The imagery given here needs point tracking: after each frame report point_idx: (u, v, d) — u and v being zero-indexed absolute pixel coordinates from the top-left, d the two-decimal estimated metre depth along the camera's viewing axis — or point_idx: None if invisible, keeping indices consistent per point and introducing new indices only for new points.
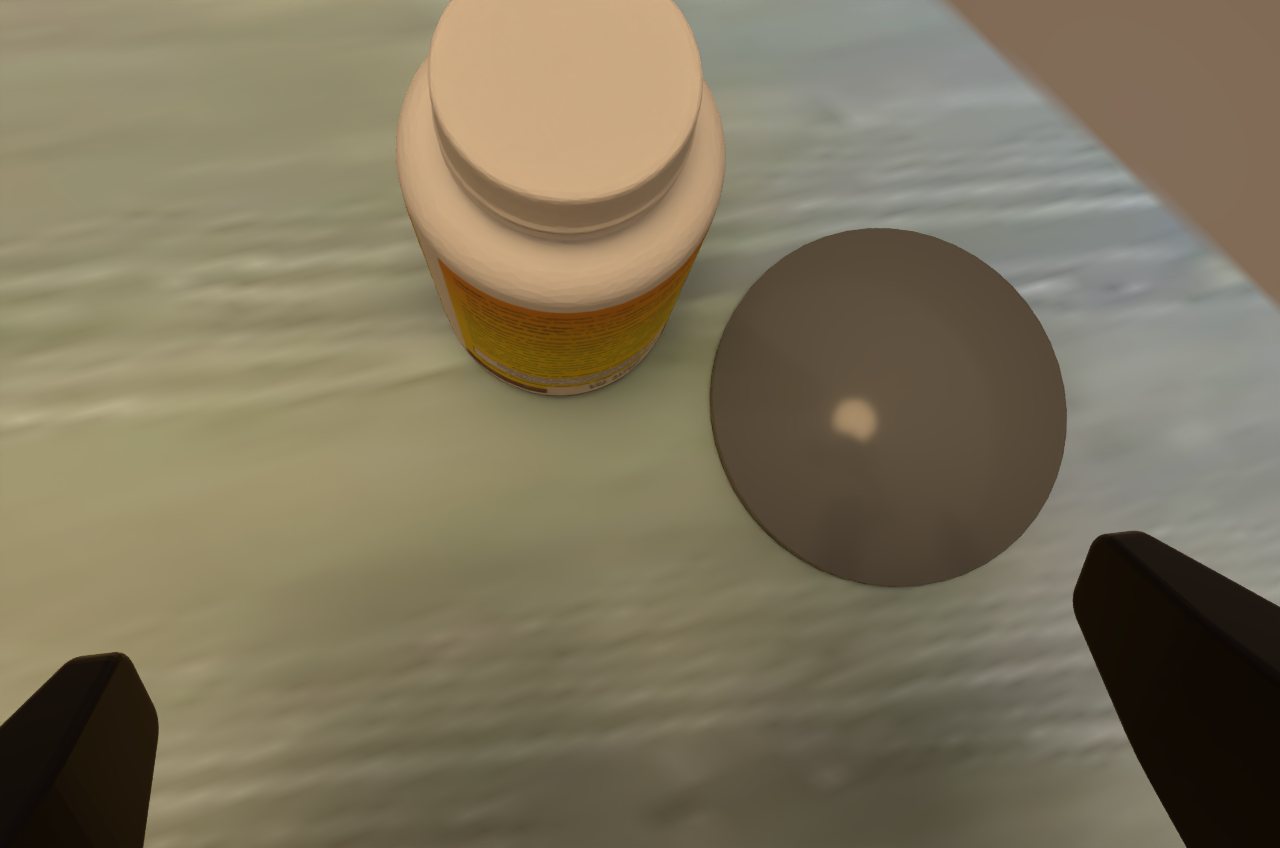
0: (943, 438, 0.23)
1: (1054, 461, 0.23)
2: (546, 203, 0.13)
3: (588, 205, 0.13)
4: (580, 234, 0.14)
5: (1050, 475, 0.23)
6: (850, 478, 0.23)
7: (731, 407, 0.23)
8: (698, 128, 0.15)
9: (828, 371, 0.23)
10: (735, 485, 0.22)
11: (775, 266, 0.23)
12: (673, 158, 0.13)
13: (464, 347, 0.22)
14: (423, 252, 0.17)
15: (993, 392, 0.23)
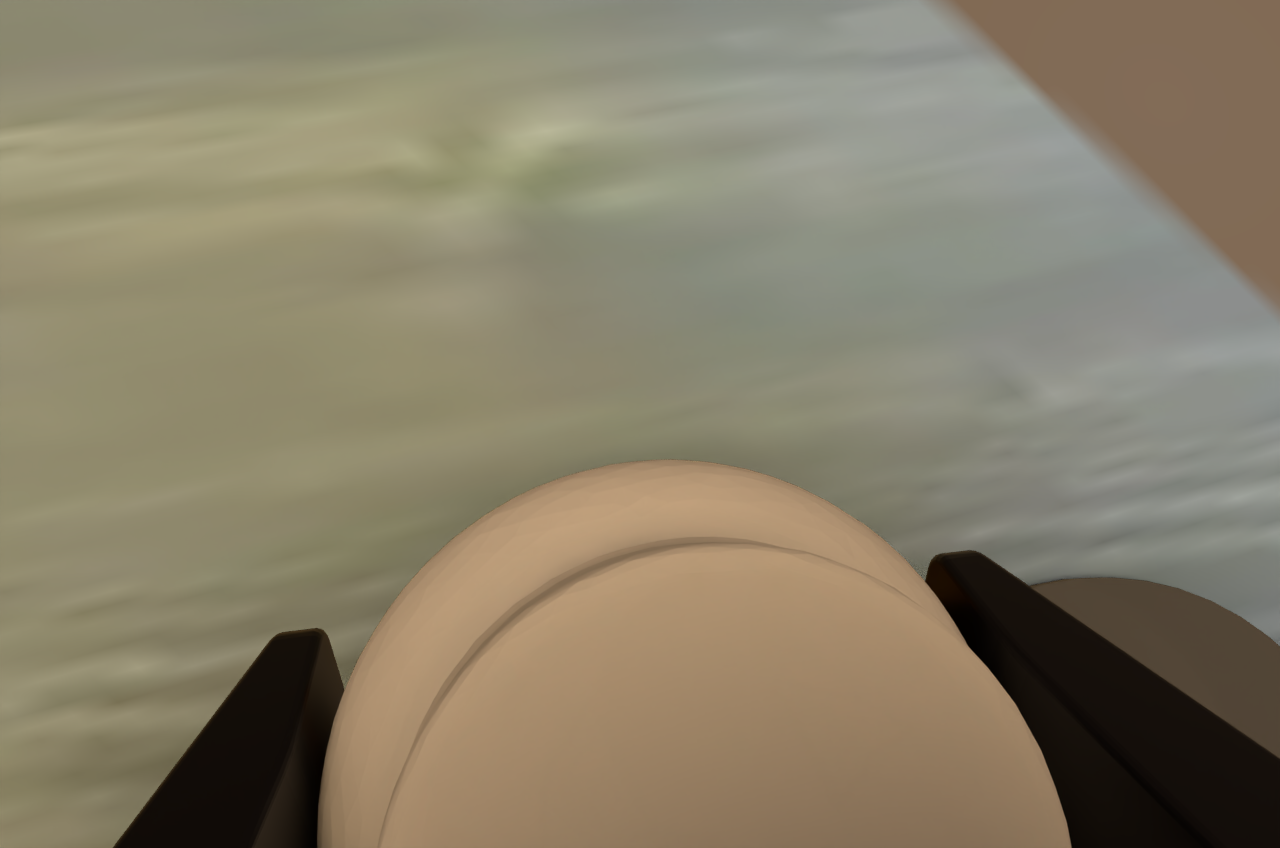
0: None
1: None
2: None
3: None
4: None
5: None
6: None
7: None
8: None
9: None
10: None
11: None
12: None
13: None
14: None
15: None
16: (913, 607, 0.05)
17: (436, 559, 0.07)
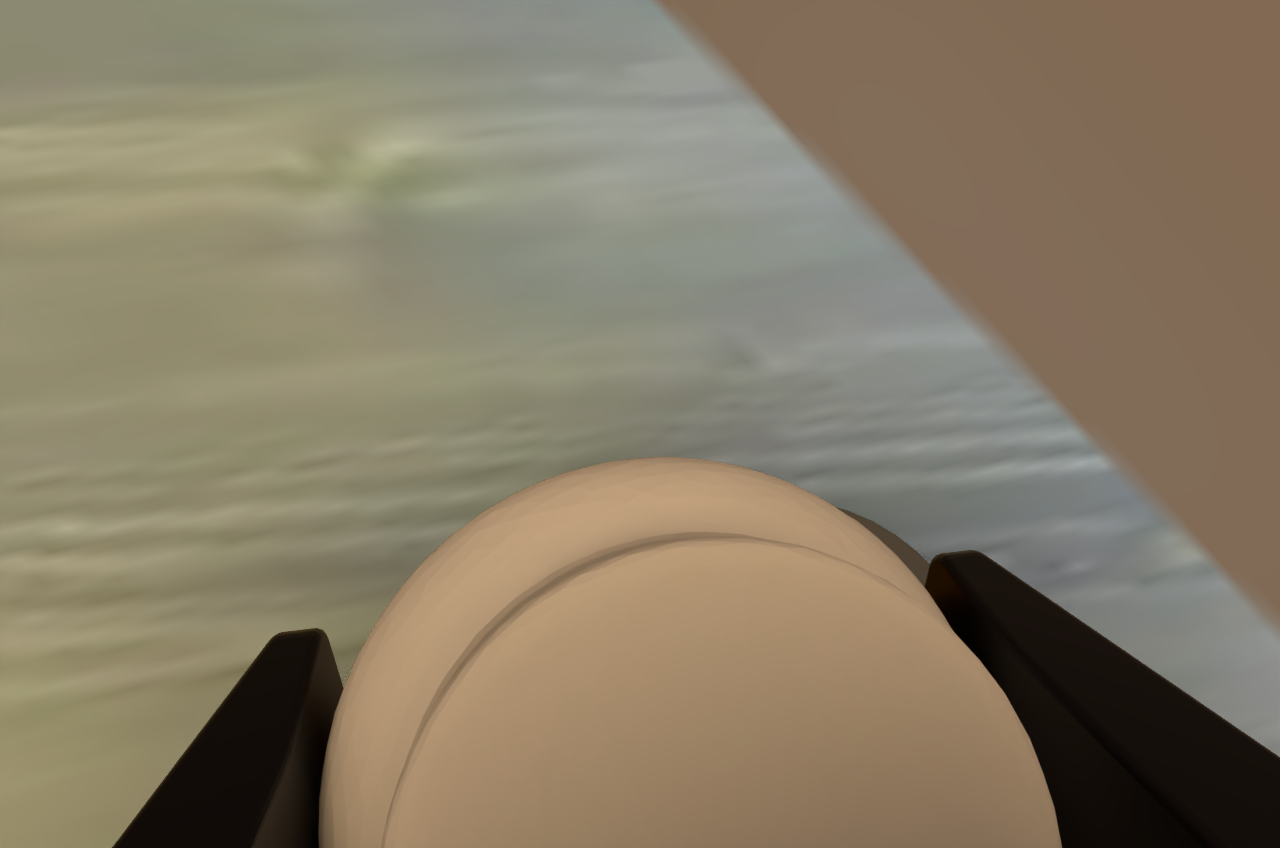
0: None
1: None
2: None
3: None
4: None
5: None
6: None
7: None
8: None
9: None
10: None
11: None
12: None
13: None
14: None
15: None
16: (906, 599, 0.06)
17: (436, 555, 0.08)
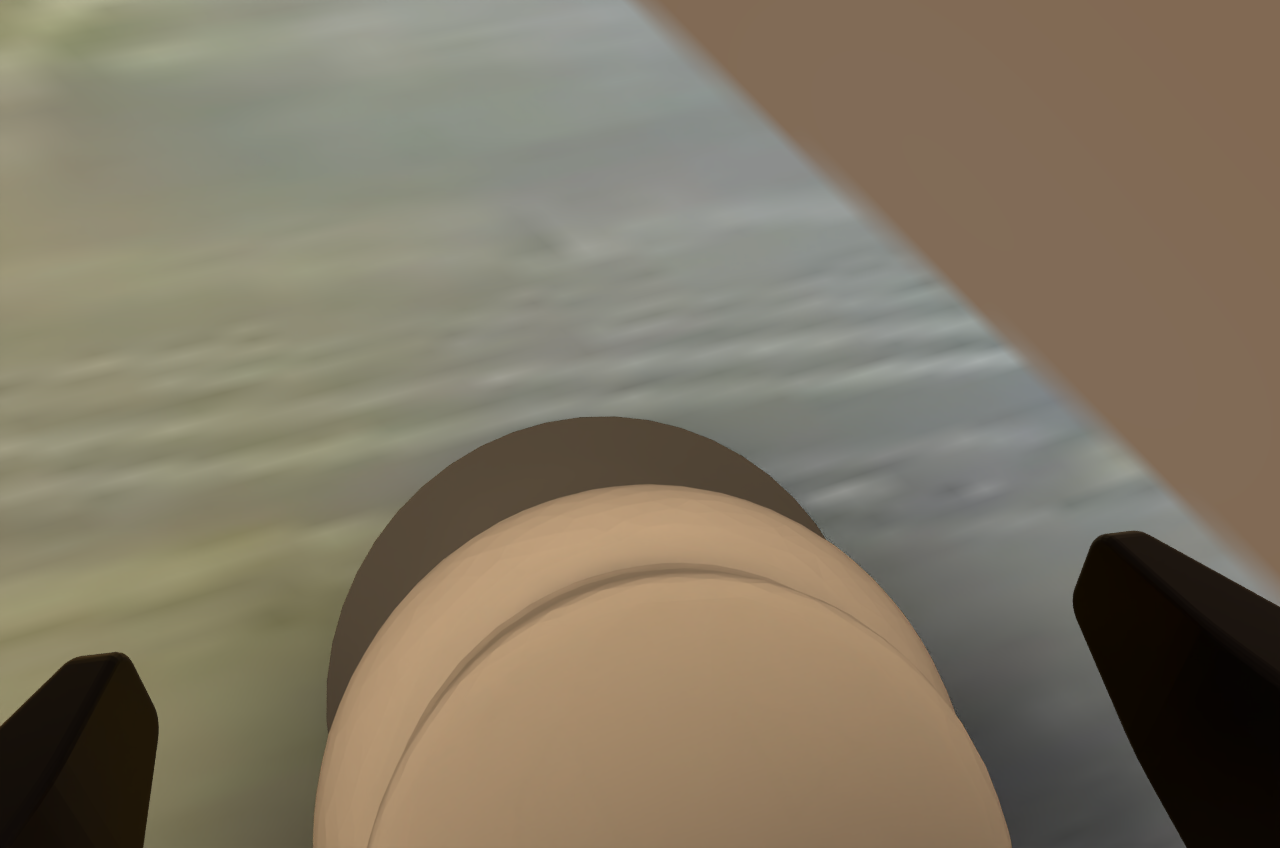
0: None
1: None
2: None
3: None
4: None
5: None
6: None
7: None
8: None
9: None
10: None
11: (435, 479, 0.16)
12: None
13: None
14: None
15: None
16: (866, 633, 0.06)
17: (425, 581, 0.08)
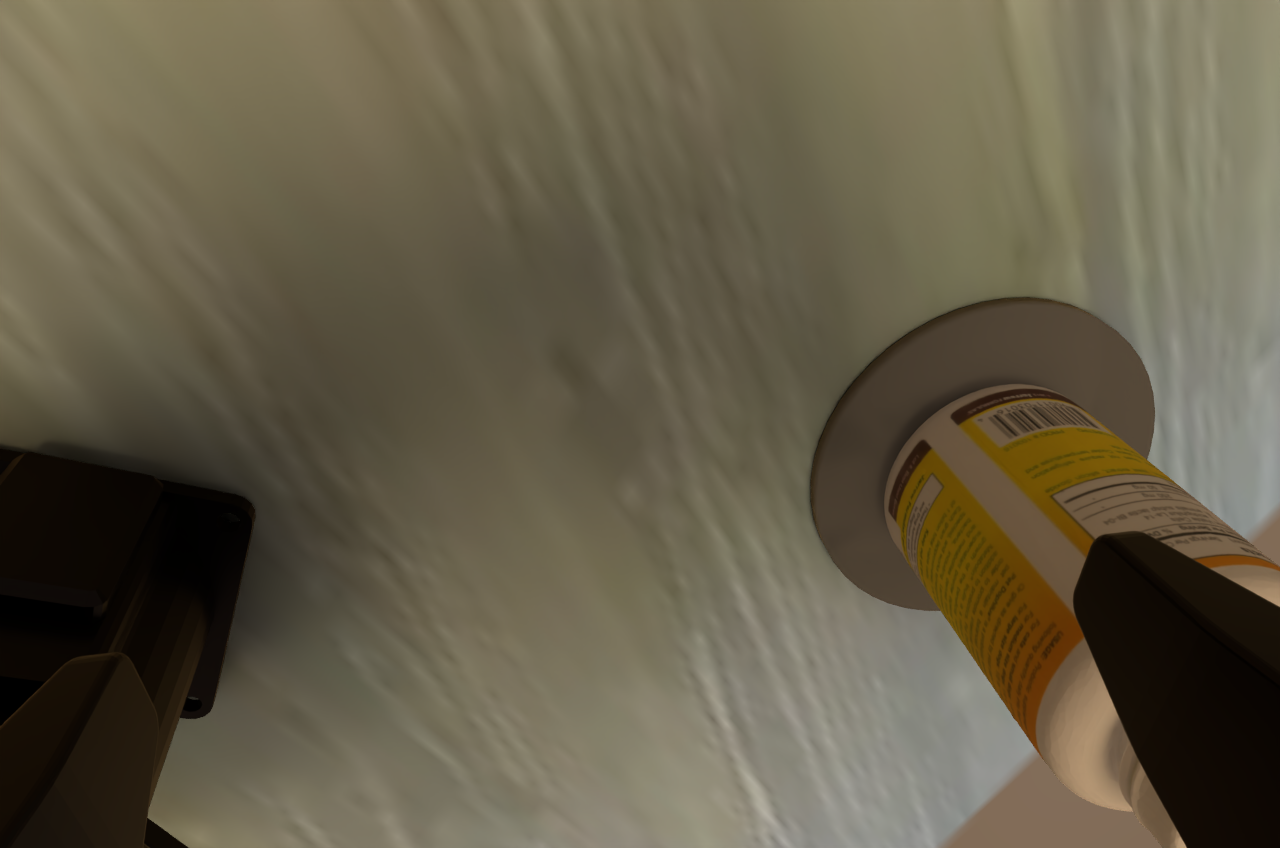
0: None
1: None
2: (1172, 827, 0.15)
3: (1167, 846, 0.15)
4: (1126, 791, 0.16)
5: (926, 605, 0.26)
6: None
7: (977, 331, 0.22)
8: None
9: None
10: (898, 352, 0.22)
11: (1120, 338, 0.22)
12: None
13: (925, 430, 0.22)
14: (1067, 534, 0.18)
15: None
16: None
17: None
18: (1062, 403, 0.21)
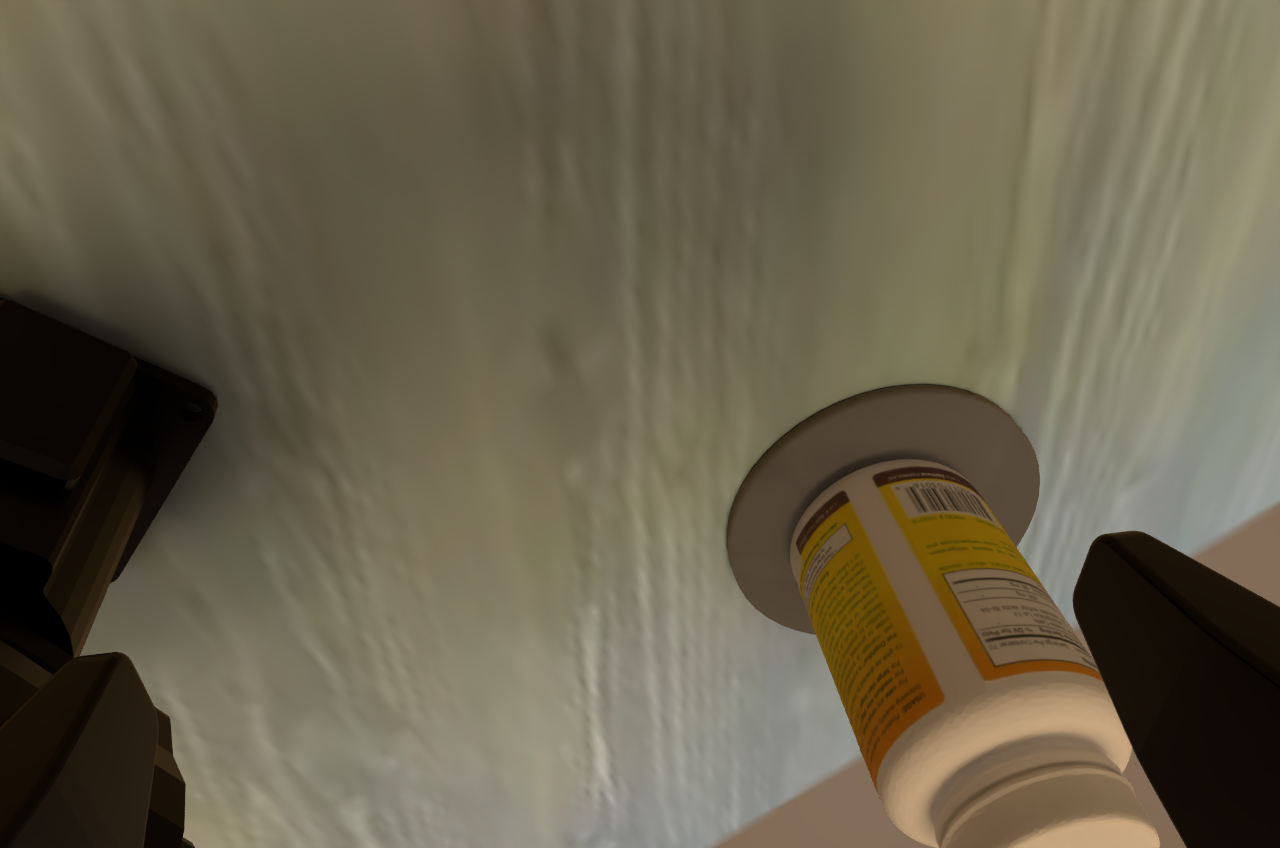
0: None
1: (808, 628, 0.29)
2: None
3: None
4: (940, 834, 0.19)
5: (799, 626, 0.28)
6: None
7: (917, 409, 0.24)
8: None
9: None
10: (846, 410, 0.24)
11: (1028, 444, 0.25)
12: None
13: (848, 483, 0.24)
14: (948, 612, 0.20)
15: None
16: None
17: None
18: (967, 490, 0.24)
